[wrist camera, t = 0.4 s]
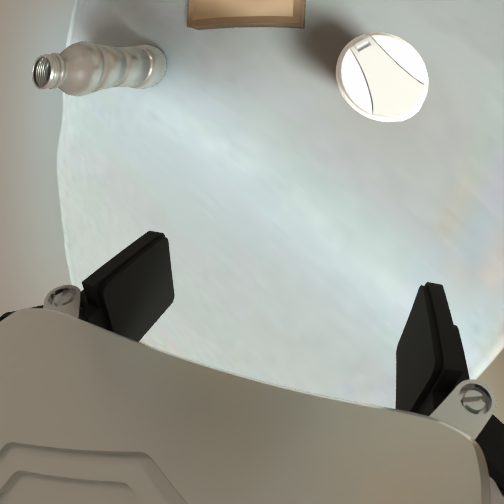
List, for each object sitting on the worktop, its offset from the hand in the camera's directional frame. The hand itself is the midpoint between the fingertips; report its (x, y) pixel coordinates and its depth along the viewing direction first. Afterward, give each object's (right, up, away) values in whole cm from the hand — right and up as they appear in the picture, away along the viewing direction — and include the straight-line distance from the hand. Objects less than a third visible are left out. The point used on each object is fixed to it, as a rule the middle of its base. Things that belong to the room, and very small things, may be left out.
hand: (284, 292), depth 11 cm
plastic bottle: (-15, +28, +28) cm, 42 cm away
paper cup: (+13, +21, +21) cm, 33 cm away
